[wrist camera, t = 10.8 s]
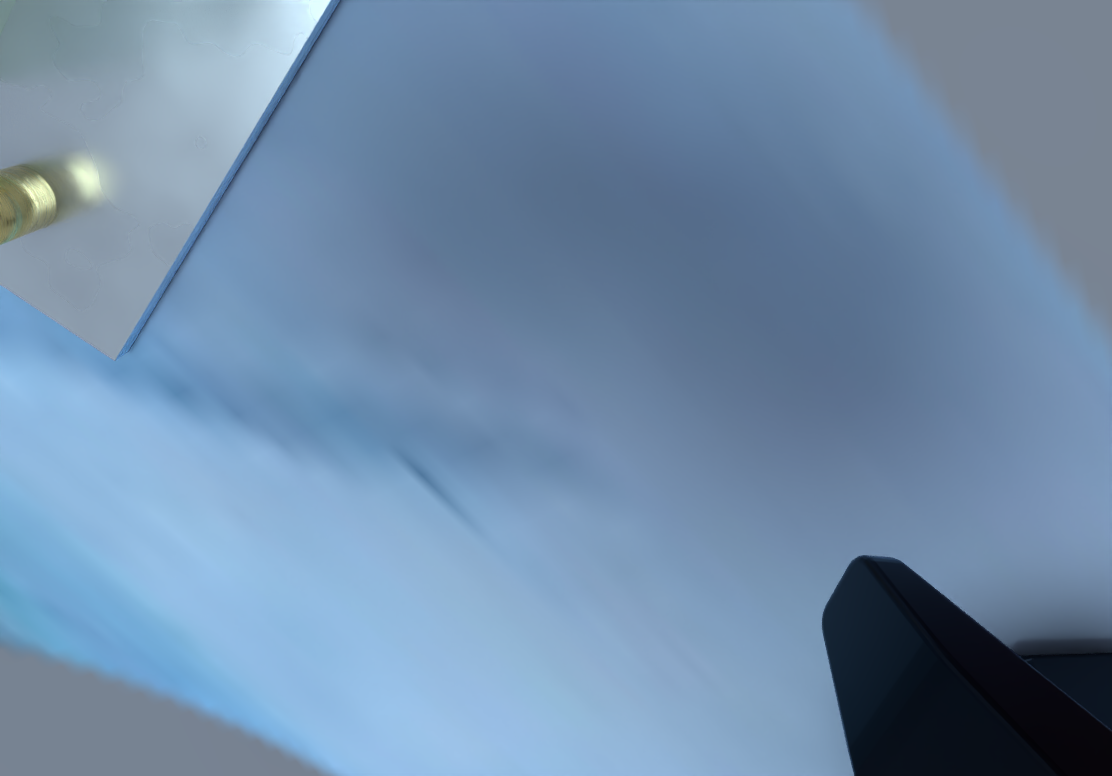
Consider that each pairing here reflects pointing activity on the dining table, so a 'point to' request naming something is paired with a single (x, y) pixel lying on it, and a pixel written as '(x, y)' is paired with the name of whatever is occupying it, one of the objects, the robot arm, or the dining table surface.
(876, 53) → the dining table surface
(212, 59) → the plate
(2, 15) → the module
